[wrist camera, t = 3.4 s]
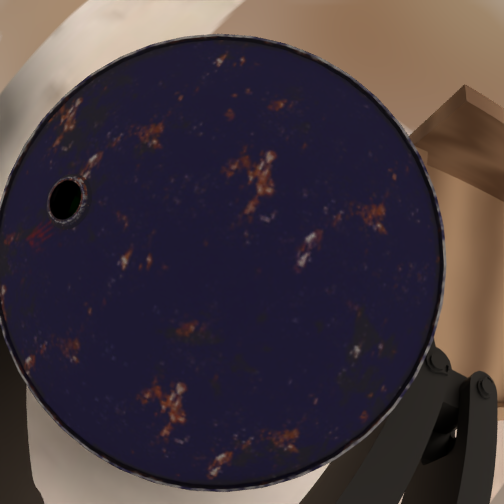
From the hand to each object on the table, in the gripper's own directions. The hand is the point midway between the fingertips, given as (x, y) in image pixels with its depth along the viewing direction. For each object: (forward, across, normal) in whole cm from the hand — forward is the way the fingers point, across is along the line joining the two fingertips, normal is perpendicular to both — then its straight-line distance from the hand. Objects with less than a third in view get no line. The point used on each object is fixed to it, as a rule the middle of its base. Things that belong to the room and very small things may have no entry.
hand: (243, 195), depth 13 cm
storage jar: (+3, 0, -8) cm, 8 cm away
